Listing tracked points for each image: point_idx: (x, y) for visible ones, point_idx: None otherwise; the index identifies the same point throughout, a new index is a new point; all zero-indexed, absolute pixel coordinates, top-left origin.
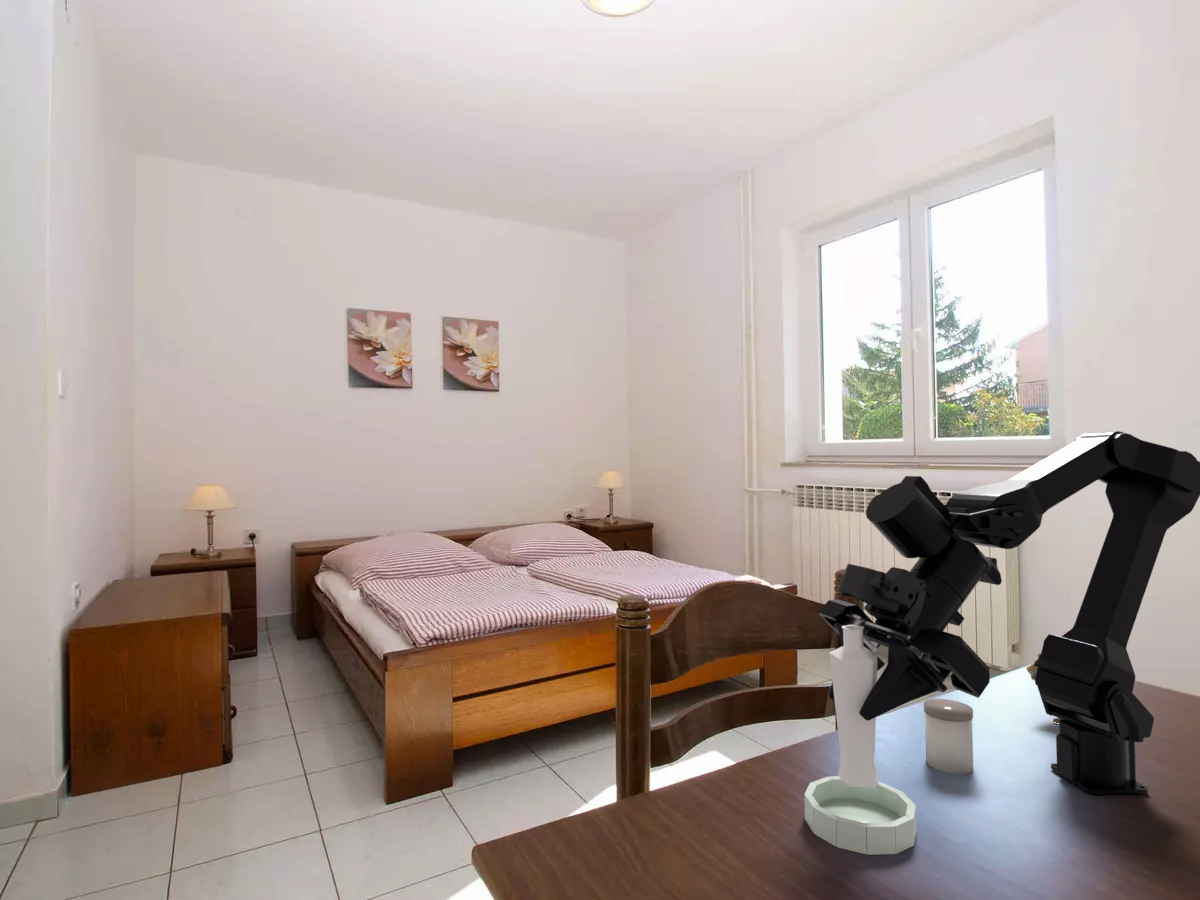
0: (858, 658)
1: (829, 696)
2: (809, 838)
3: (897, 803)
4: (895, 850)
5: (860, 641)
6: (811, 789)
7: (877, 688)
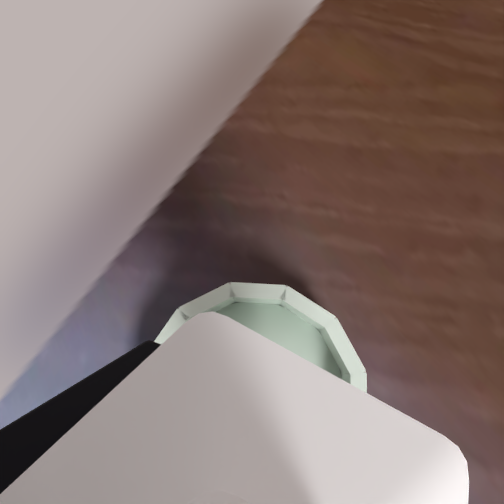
0: (89, 436)
1: None
2: (278, 274)
3: None
4: None
5: None
6: (342, 347)
7: (43, 424)
